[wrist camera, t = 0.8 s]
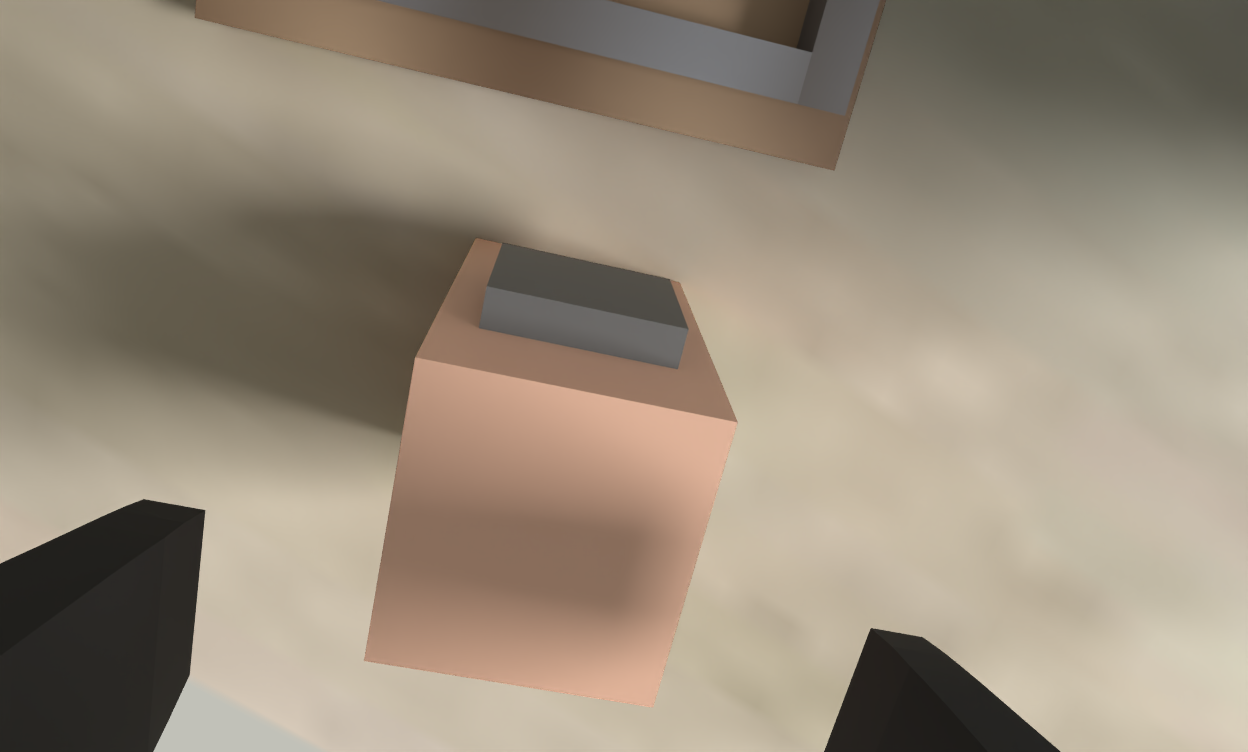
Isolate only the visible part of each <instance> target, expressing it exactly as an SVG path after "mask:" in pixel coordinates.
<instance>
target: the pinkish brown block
mask: <svg viewBox="0 0 1248 752" xmlns="http://www.w3.org/2000/svg"><path fill="white" fill-rule="evenodd" d="M737 423H738V422H737V420H736V417H735V415H734V412H733V410H732V408H731V405H730V403H729V400H728V398H727V395H726V393H725V391H724V388H723V386H722V383H721V381H720V379H719V376H718V374H717V371H716V369H715V366H714V364H713V362H712V359H711V357H710V354H709V352H708V350H707V347H706V345H705V342H704V340H703V337H702V335H701V333H700V330H699V328H698V325H697V323H696V321H695V318H694V316H693V313H692V311H691V308H690V306H689V304H688V301H687V299H686V296H685V294H684V292H683V289H682V287H681V284H680V283H679V282H675V281H670V279H666V278H662V277H657V276H652V275H648V274H643V273H639V272H634V271H630V270H625V269H621V268H616V267H611V266H607V265H602V264H598V263H593V262H589V261H584V260H579V259H575V258H570V257H566V256H561V255H557V254H552V253H547V252H543V251H538V250H534V249H529V248H525V247H520V246H515V245H511V244H506V243H502V244H501V243H497V242H492V241H488V240H483V239H478V238H476V239H475V241H474V243H473V245H472V247H471V248H470V250H469V252H468V254H467V256H466V258H465V260H464V262H463V264H462V266H461V268H460V270H459V272H458V274H457V276H456V278H455V280H454V282H453V284H452V286H451V288H450V290H449V292H448V294H447V296H446V298H445V300H444V302H443V303H442V305H441V307H440V309H439V311H438V313H437V315H436V317H435V319H434V321H433V323H432V325H431V327H430V329H429V331H428V333H427V335H426V337H425V339H424V341H423V343H422V345H421V347H420V349H419V351H418V353H417V355H416V357H415V361H414V367H413V373H412V379H411V385H410V391H409V397H408V402H407V408H406V414H405V420H404V426H403V432H402V438H401V444H400V450H399V456H398V462H397V468H396V474H395V480H394V486H393V492H392V498H391V504H390V510H389V515H388V521H387V527H386V533H385V539H384V545H383V551H382V557H381V563H380V569H379V575H378V581H377V587H376V593H375V599H374V605H373V611H372V617H371V623H370V628H369V634H368V640H367V646H366V652H365V658H364V661H368V662H374V663H380V664H387V665H393V666H399V667H405V668H411V669H418V670H424V671H430V672H436V673H442V674H449V675H455V676H461V677H467V678H473V679H480V680H486V681H492V682H498V683H504V684H511V685H517V686H523V687H529V688H535V689H542V690H548V691H554V692H560V693H566V694H573V695H579V696H585V697H591V698H597V699H604V700H610V701H616V702H622V703H628V704H635V705H641V706H647V707H653V706H654V703H655V699H656V696H657V693H658V689H659V686H660V682H661V679H662V676H663V672H664V669H665V666H666V662H667V659H668V655H669V652H670V649H671V645H672V642H673V639H674V635H675V632H676V628H677V625H678V622H679V618H680V615H681V612H682V608H683V605H684V602H685V598H686V595H687V591H688V588H689V585H690V581H691V578H692V575H693V571H694V568H695V564H696V561H697V558H698V554H699V551H700V548H701V544H702V541H703V537H704V534H705V531H706V527H707V524H708V521H709V517H710V514H711V511H712V507H713V504H714V500H715V497H716V494H717V490H718V487H719V484H720V480H721V477H722V473H723V470H724V467H725V463H726V460H727V457H728V453H729V450H730V446H731V443H732V440H733V436H734V433H735V430H736V426H737Z"/></svg>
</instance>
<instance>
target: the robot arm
mask: <svg viewBox="0 0 1248 752" xmlns="http://www.w3.org/2000/svg"><path fill="white" fill-rule="evenodd" d="M204 518H205V510H201V509H196V508H190V507H184V506H179V505H173V504H167V503H162V502H156V501H150V500H145V499H143V500H141V501H138V502H135V503H133V504H130V505H128V506H125V507H123V508H120V509H118V510H116V511H114V512H111V513H109V514H107V515H105V516H102V517H100V518H98V519H96V520H94V521H92V522H89V523H87V524H85V525H83V526H81V527H79V528H77V529H74V530H72V531H70V532H68V533H66V534H64V535H62V536H59V537H57V538H55V539H53V540H51V541H49V542H47V543H44V544H42V545H40V546H38V547H36V548H34V549H31V550H29V551H27V552H25V553H23V554H20V555H18V556H16V557H14V558H12V559H9V560H7V561H5V562H3V563H1V564H0V752H153V751H154V749H155V747H156V745H157V743H158V741H159V739H160V737H161V735H162V733H163V731H164V728H165V726H166V724H167V722H168V720H169V718H170V716H171V714H172V712H173V709H174V707H175V705H176V703H177V701H178V699H179V696H180V694H181V692H182V690H183V688H184V686H185V684H186V681H187V679H188V677H189V675H190V665H191V654H192V644H193V633H194V623H195V612H196V602H197V591H198V581H199V570H200V560H201V549H202V539H203V529H204ZM824 752H1060V751H1059V750H1058V749H1057V748H1056V747H1054V746H1053V745H1052V744H1051V743H1050V742H1049V741H1047V740H1046V739H1045V738H1044V737H1043V736H1042V735H1041V734H1039V733H1038V732H1037V731H1036V730H1035V729H1034V728H1032V727H1031V726H1030V725H1029V724H1028V723H1027V722H1025V721H1024V720H1023V719H1022V718H1021V717H1020V716H1019V715H1017V714H1016V713H1015V712H1014V711H1013V710H1012V709H1010V708H1009V707H1008V706H1007V705H1006V704H1005V703H1004V702H1002V701H1001V700H1000V699H999V698H998V697H997V696H995V695H994V694H993V693H992V692H991V691H990V690H988V689H987V688H986V687H985V686H984V685H983V684H981V683H980V682H979V681H978V680H977V679H976V678H974V677H973V676H972V675H971V674H970V673H968V672H967V671H966V670H965V669H964V668H962V667H961V666H960V665H959V664H957V663H956V662H955V661H954V660H953V659H951V658H950V657H949V656H948V655H946V654H945V653H944V652H942V651H941V650H940V649H938V648H937V647H936V646H934V645H933V644H931V643H930V642H929V641H927V640H926V639H924V638H923V637H918V636H913V635H907V634H901V633H896V632H890V631H884V630H879V629H873V628H871V629H870V632H869V634H868V637H867V640H866V642H865V645H864V648H863V650H862V653H861V656H860V658H859V661H858V664H857V666H856V669H855V671H854V674H853V677H852V679H851V682H850V685H849V687H848V690H847V693H846V695H845V698H844V701H843V703H842V706H841V709H840V711H839V714H838V716H837V719H836V722H835V724H834V727H833V730H832V732H831V735H830V738H829V740H828V743H827V746H826V748H825V751H824Z"/></svg>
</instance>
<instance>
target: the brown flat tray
mask: <svg viewBox="0 0 1248 752" xmlns="http://www.w3.org/2000/svg"><path fill="white" fill-rule="evenodd" d="M885 2H886V0H196V8H195V18H198V19H202V20H206V21H211V22H215V23H219V24H223V25H227V26H231V27H236V28H240V29H244V30H248V31H252V32H257V33H261V34H265V35H269V36H273V37H277V38H282V39H286V40H290V41H294V42H298V43H303V44H307V45H311V46H315V47H319V48H323V49H328V50H332V51H336V52H340V53H344V54H349V55H353V56H357V57H361V58H365V59H370V60H374V61H378V62H382V63H386V64H390V65H395V66H399V67H403V68H407V69H411V70H416V71H420V72H424V73H428V74H432V75H436V76H441V77H445V78H449V79H453V80H457V81H462V82H466V83H470V84H474V85H478V86H482V87H487V88H491V89H495V90H499V91H503V92H508V93H512V94H516V95H520V96H524V97H528V98H533V99H537V100H541V101H545V102H549V103H554V104H558V105H562V106H566V107H570V108H574V109H579V110H583V111H587V112H591V113H595V114H600V115H604V116H608V117H612V118H616V119H620V120H625V121H629V122H633V123H637V124H641V125H646V126H650V127H654V128H658V129H662V130H666V131H671V132H675V133H679V134H683V135H687V136H692V137H696V138H700V139H704V140H708V141H712V142H717V143H721V144H725V145H729V146H733V147H738V148H742V149H746V150H750V151H754V152H759V153H763V154H767V155H771V156H775V157H779V158H784V159H788V160H792V161H796V162H800V163H805V164H809V165H813V166H817V167H821V168H825V169H830V170H835V167H836V163H837V160H838V157H839V154H840V150H841V147H842V144H843V140H844V137H845V134H846V131H847V127H848V124H849V121H850V117H851V114H852V111H853V108H854V104H855V101H856V98H857V94H858V91H859V88H860V85H861V81H862V78H863V75H864V71H865V68H866V65H867V62H868V58H869V55H870V52H871V48H872V45H873V42H874V39H875V35H876V32H877V29H878V25H879V22H880V19H881V16H882V12H883V9H884V6H885Z"/></svg>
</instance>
